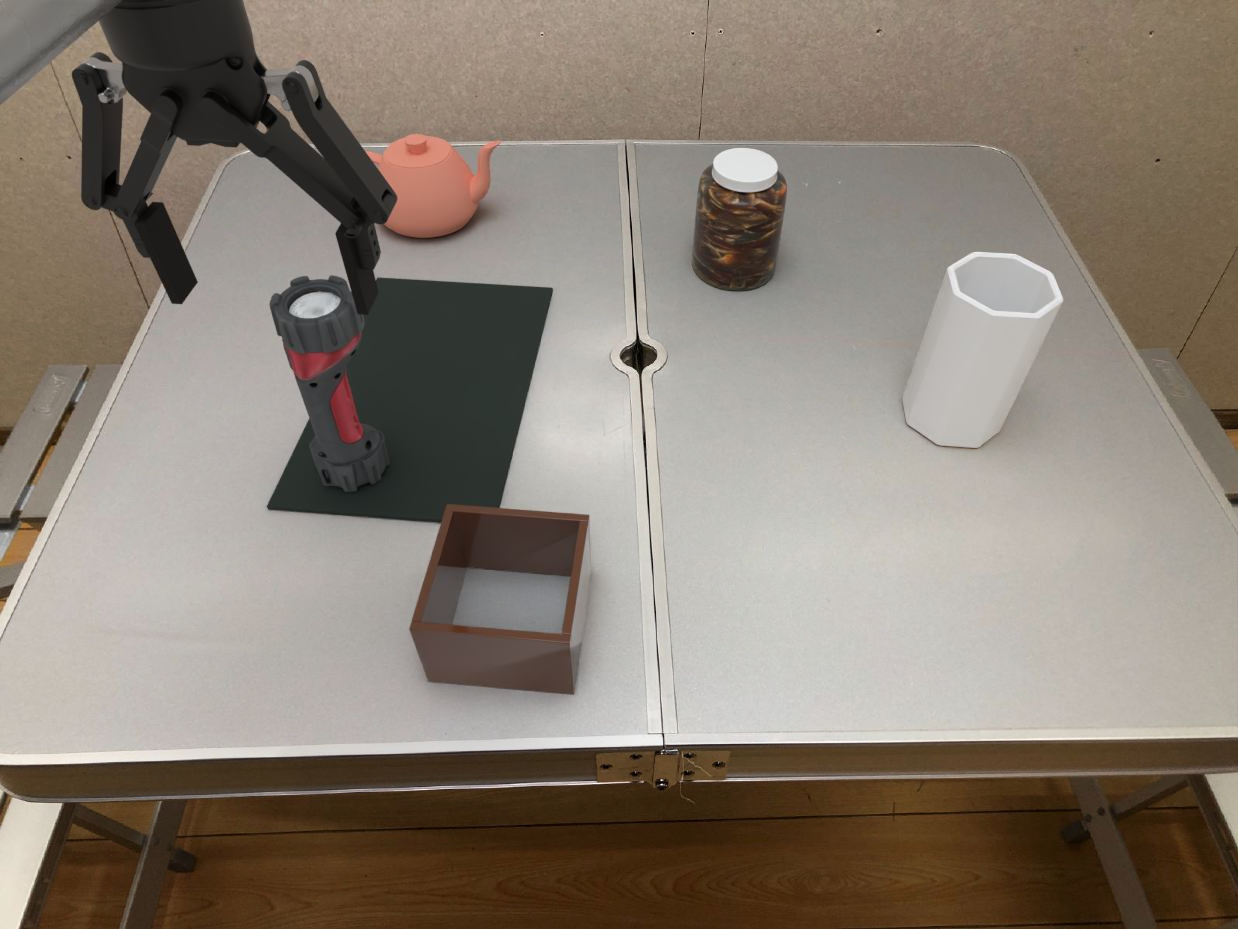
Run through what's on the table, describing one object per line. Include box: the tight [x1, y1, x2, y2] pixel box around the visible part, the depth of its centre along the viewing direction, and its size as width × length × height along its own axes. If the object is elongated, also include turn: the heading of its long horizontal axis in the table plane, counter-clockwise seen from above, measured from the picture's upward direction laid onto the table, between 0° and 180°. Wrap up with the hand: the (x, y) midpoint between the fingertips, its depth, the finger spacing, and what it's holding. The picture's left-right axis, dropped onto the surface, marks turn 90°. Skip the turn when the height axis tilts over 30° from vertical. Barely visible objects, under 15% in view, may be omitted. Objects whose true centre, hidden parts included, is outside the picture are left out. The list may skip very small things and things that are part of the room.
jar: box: [691, 147, 788, 292], centre depth 110 cm, size 12×12×15 cm
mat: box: [266, 276, 554, 524], centre depth 99 cm, size 24×40×1 cm, turn 174°
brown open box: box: [409, 504, 593, 696], centre depth 75 cm, size 13×13×9 cm
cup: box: [901, 251, 1064, 449], centre depth 89 cm, size 11×11×18 cm
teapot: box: [364, 133, 502, 239], centre depth 119 cm, size 22×15×12 cm
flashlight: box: [268, 274, 390, 492], centre depth 82 cm, size 8×8×23 cm
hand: (276, 298), depth 61 cm, fingers open, 13 cm apart
